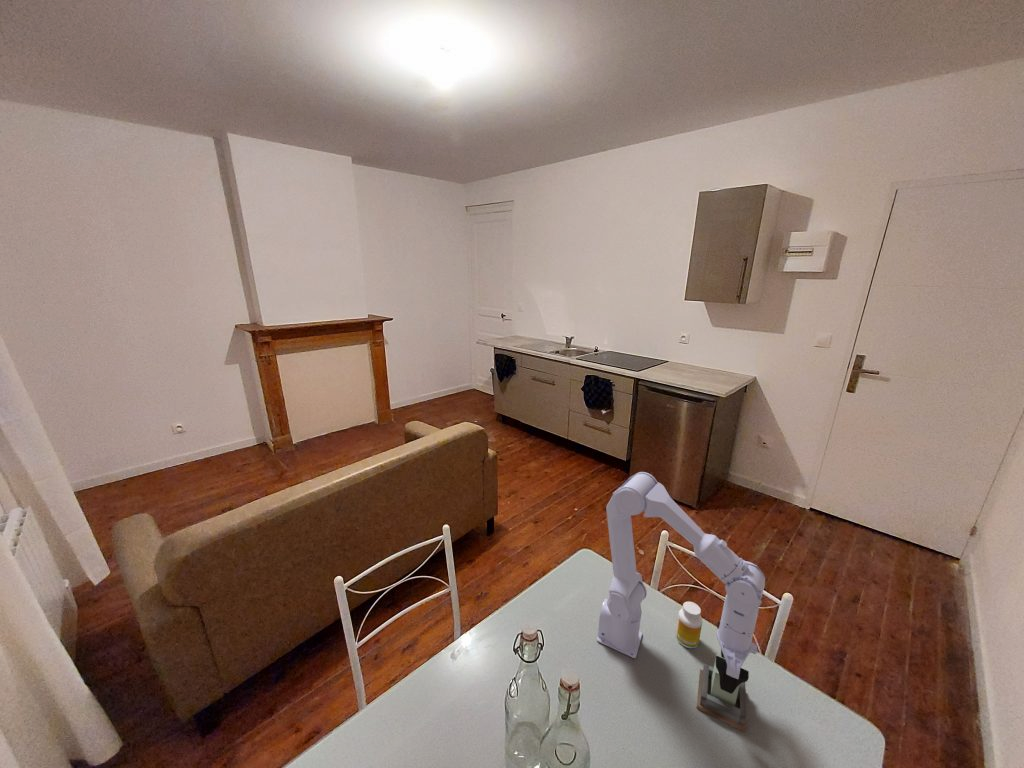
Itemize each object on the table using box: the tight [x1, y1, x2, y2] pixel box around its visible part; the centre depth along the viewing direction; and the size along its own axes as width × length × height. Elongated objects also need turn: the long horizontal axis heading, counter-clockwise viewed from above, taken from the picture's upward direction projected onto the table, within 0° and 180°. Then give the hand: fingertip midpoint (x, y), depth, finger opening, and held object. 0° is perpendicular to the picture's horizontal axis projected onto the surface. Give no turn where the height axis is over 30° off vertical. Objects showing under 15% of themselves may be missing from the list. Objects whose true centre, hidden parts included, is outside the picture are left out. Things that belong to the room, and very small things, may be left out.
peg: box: [710, 654, 740, 707], centre depth 81 cm, size 4×4×8 cm
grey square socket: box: [696, 663, 748, 733], centre depth 82 cm, size 9×9×3 cm
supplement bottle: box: [675, 601, 703, 649], centre depth 95 cm, size 5×5×10 cm
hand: (726, 673), depth 80 cm, fingers open, 7 cm apart
